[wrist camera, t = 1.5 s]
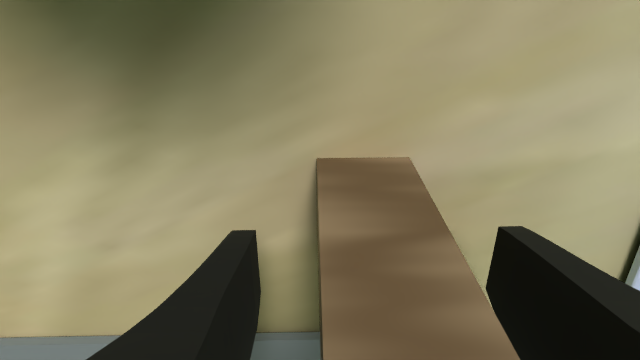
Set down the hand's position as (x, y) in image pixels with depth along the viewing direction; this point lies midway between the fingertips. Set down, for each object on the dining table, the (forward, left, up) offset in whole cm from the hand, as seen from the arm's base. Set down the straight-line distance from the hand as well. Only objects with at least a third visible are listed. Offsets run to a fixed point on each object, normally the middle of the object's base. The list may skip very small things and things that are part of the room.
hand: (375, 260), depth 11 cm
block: (0, 0, -3) cm, 3 cm away
